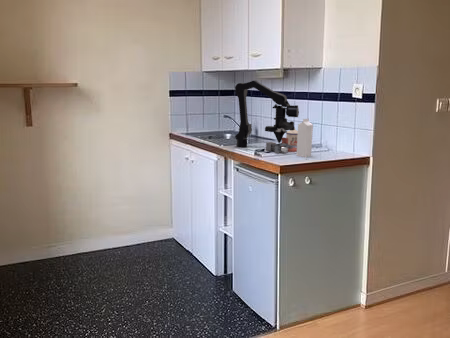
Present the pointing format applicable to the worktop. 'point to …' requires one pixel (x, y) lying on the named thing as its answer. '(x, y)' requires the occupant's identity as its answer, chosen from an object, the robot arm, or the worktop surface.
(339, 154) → the worktop surface
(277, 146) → the eye post
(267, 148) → the grey rod with block
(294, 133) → the teacup with lid
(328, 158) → the worktop surface
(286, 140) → the handwheel
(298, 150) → the milk
